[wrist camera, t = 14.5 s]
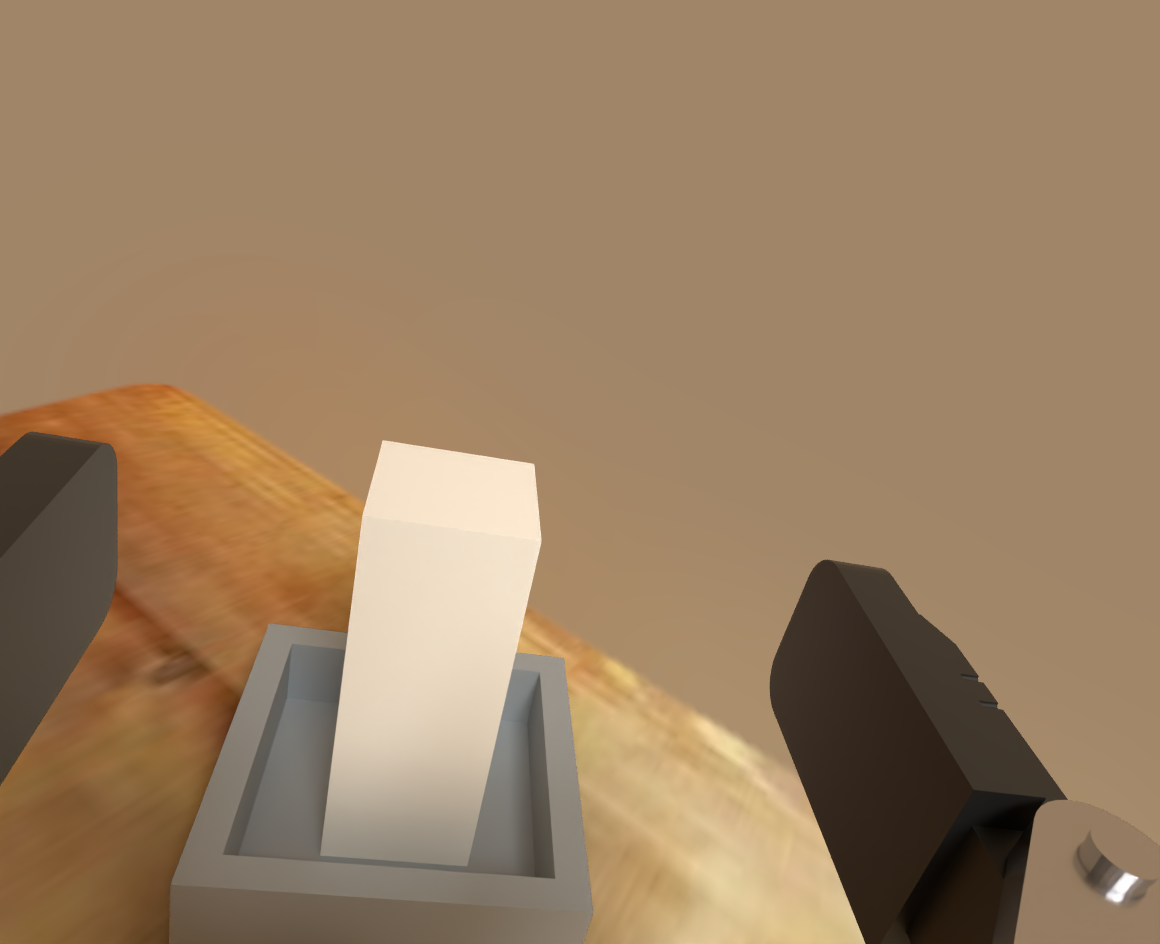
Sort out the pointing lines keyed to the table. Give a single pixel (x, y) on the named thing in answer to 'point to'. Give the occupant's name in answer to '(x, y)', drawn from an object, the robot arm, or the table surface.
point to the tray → (366, 886)
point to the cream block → (429, 651)
